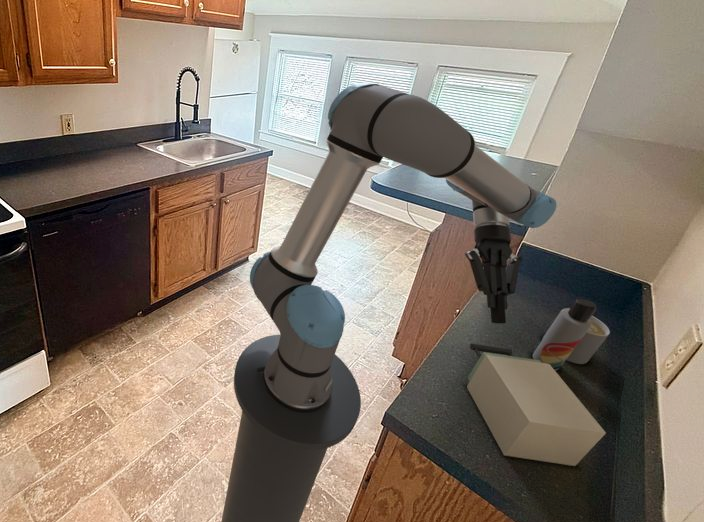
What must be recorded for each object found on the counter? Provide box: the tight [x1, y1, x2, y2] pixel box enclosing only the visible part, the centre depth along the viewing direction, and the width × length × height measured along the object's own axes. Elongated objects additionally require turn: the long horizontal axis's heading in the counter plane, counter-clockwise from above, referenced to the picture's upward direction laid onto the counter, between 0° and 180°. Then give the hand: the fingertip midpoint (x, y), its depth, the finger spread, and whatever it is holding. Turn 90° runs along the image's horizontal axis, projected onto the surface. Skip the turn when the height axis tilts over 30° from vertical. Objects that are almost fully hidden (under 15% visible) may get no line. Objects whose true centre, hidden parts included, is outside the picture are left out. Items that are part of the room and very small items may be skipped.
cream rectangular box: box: [466, 355, 607, 467], centre depth 78 cm, size 16×14×11 cm
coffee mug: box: [542, 307, 611, 365], centre depth 101 cm, size 13×10×10 cm
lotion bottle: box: [532, 298, 598, 372], centre depth 92 cm, size 6×6×20 cm
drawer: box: [467, 342, 541, 383], centre depth 83 cm, size 21×12×9 cm, turn 175°
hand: (498, 322), depth 90 cm, fingers closed
